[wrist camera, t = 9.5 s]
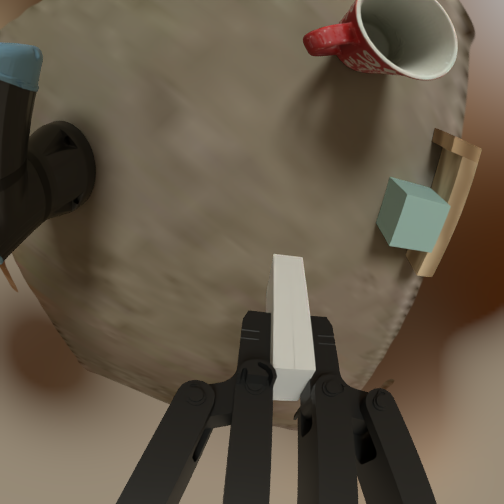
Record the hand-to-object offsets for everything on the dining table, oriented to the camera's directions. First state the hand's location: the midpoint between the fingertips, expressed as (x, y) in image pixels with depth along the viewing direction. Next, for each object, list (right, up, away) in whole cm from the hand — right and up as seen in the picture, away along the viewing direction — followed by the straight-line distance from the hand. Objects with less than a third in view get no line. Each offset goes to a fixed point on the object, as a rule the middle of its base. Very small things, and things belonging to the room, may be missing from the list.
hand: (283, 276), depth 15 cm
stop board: (+24, +9, +18) cm, 31 cm away
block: (+19, +8, +19) cm, 28 cm away
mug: (+9, +25, +9) cm, 28 cm away
